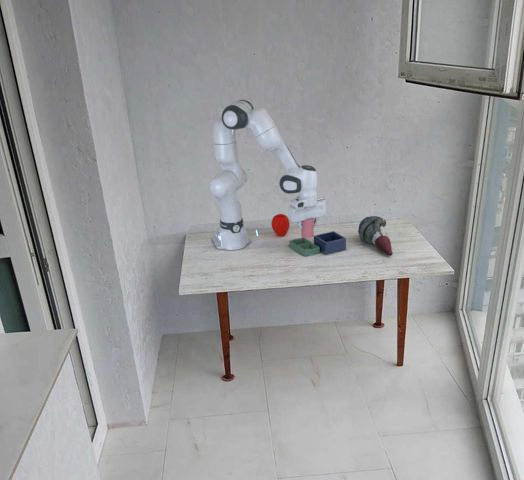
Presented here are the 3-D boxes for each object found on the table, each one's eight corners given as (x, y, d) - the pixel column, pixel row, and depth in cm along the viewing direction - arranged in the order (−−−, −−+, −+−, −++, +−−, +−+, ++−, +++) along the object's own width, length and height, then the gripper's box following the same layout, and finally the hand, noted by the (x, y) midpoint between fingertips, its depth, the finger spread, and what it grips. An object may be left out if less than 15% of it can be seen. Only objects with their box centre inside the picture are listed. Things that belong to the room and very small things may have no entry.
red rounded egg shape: (272, 232, 313) (271, 211, 307) (289, 232, 312) (289, 210, 306) (271, 239, 305) (270, 217, 298) (289, 238, 304) (289, 216, 297)
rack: (289, 245, 295) (289, 240, 294) (303, 242, 298) (303, 237, 297) (305, 256, 283) (305, 250, 281) (319, 252, 286) (319, 247, 284)
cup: (299, 235, 284) (299, 217, 279) (309, 233, 287) (309, 214, 282) (305, 239, 280) (305, 220, 275) (315, 236, 282) (316, 218, 277)
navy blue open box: (313, 247, 293) (313, 235, 289) (333, 242, 297) (333, 231, 293) (325, 254, 283) (325, 243, 280) (345, 250, 287) (346, 238, 284)
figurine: (380, 276, 293) (405, 262, 285) (364, 266, 281) (390, 252, 272) (366, 230, 304) (390, 216, 296) (350, 219, 292) (374, 204, 284)
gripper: (322, 195, 279) (322, 221, 287) (286, 201, 272) (286, 229, 279) (329, 198, 274) (328, 225, 282) (292, 205, 267) (292, 233, 275)
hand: (307, 227), depth 281 cm, fingers closed on cup, 6 cm apart
